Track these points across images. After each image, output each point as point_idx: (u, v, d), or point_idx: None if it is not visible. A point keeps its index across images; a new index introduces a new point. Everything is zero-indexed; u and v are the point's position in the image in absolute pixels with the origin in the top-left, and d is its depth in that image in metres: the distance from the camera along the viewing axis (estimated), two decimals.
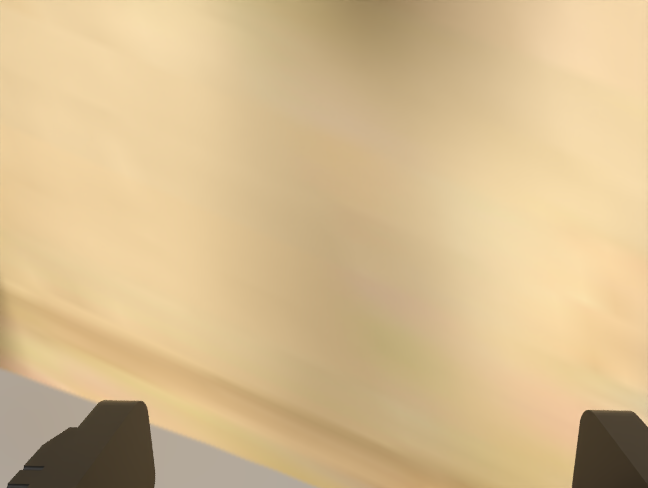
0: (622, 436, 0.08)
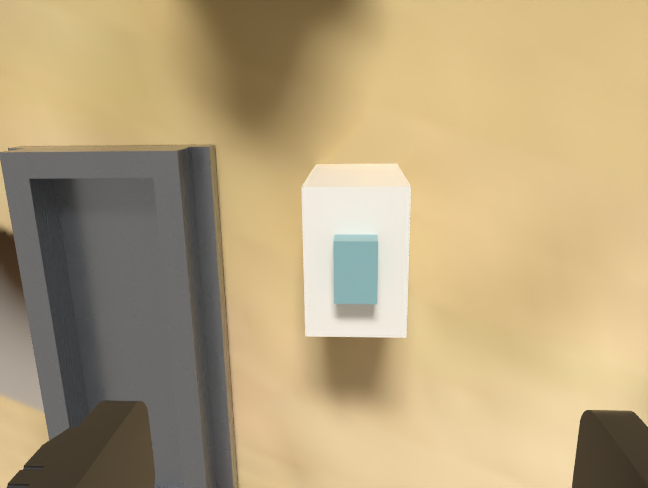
0: (622, 436, 0.08)
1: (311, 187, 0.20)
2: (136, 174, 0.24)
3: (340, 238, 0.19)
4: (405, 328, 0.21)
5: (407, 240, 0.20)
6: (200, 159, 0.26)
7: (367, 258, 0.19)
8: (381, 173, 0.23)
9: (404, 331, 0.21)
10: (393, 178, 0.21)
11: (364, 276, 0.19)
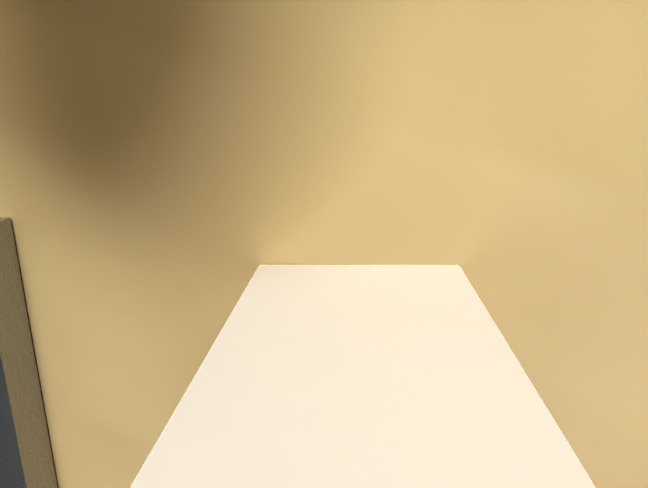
0: None
1: None
2: None
3: None
4: None
5: None
6: None
7: None
8: (438, 342, 0.07)
9: None
10: (498, 404, 0.06)
11: None
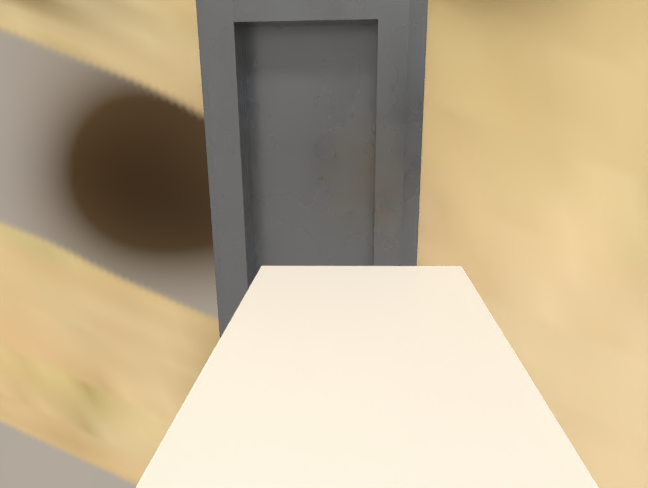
0: None
1: None
2: (358, 15, 0.21)
3: None
4: None
5: None
6: (416, 9, 0.23)
7: None
8: (441, 343, 0.07)
9: None
10: (501, 405, 0.06)
11: None
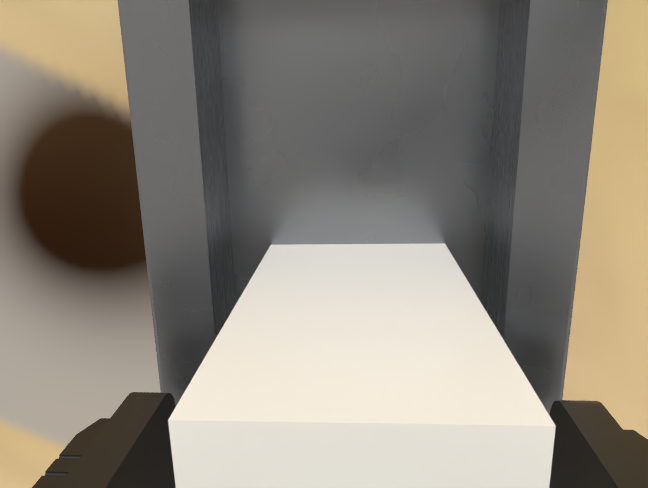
0: (586, 424, 0.09)
1: (203, 419, 0.06)
2: None
3: None
4: None
5: None
6: None
7: None
8: (422, 298, 0.09)
9: None
10: (466, 338, 0.07)
11: None
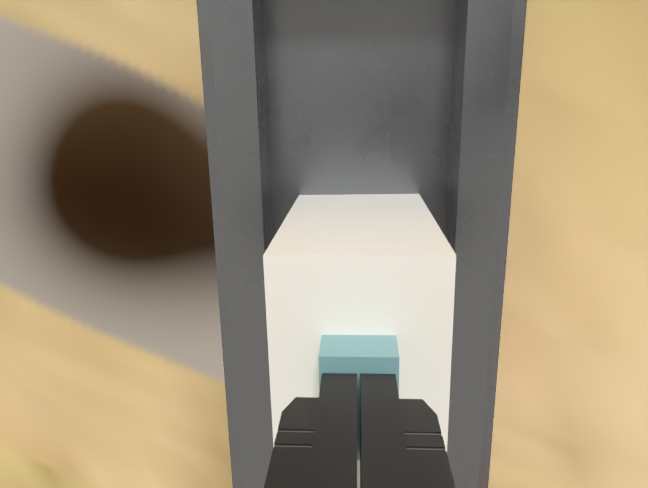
0: (370, 392, 0.10)
1: (280, 255, 0.11)
2: None
3: (331, 346, 0.11)
4: None
5: (448, 345, 0.11)
6: None
7: None
8: (398, 217, 0.14)
9: None
10: (420, 230, 0.13)
11: None
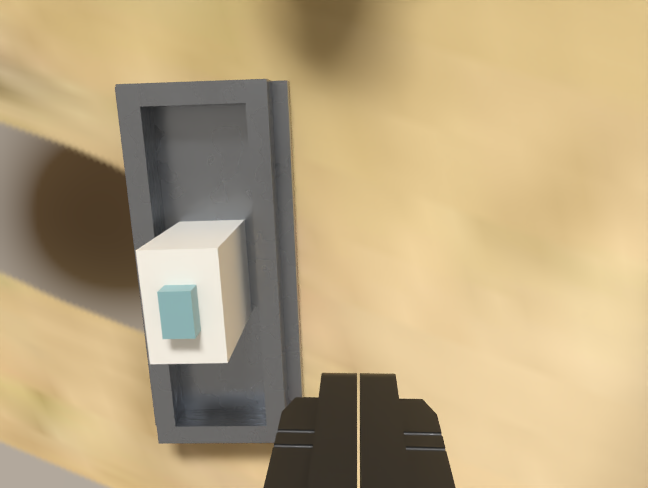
0: (370, 392, 0.10)
1: (143, 250, 0.26)
2: (231, 100, 0.29)
3: (165, 289, 0.25)
4: (225, 355, 0.27)
5: (219, 288, 0.26)
6: (279, 92, 0.30)
7: (184, 304, 0.25)
8: (216, 232, 0.29)
9: (225, 358, 0.27)
10: (217, 238, 0.27)
11: (183, 318, 0.25)
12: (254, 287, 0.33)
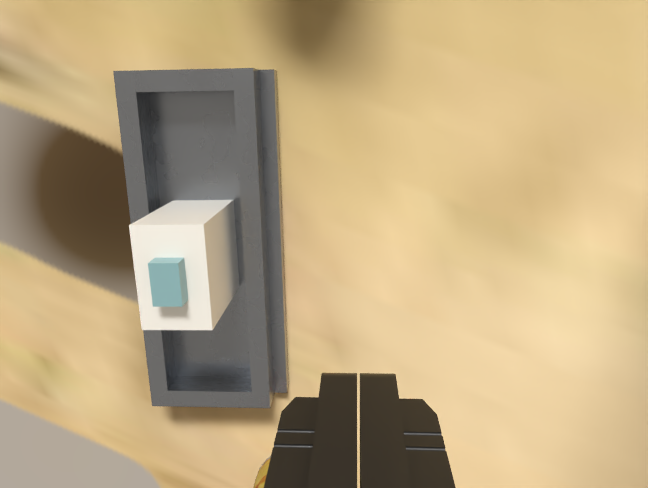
0: (370, 392, 0.10)
1: (136, 225, 0.28)
2: (220, 87, 0.31)
3: (155, 260, 0.28)
4: (210, 323, 0.29)
5: (205, 261, 0.28)
6: (266, 80, 0.32)
7: (172, 274, 0.28)
8: (205, 210, 0.31)
9: (210, 325, 0.29)
10: (204, 216, 0.30)
11: (171, 287, 0.28)
12: (242, 263, 0.36)
